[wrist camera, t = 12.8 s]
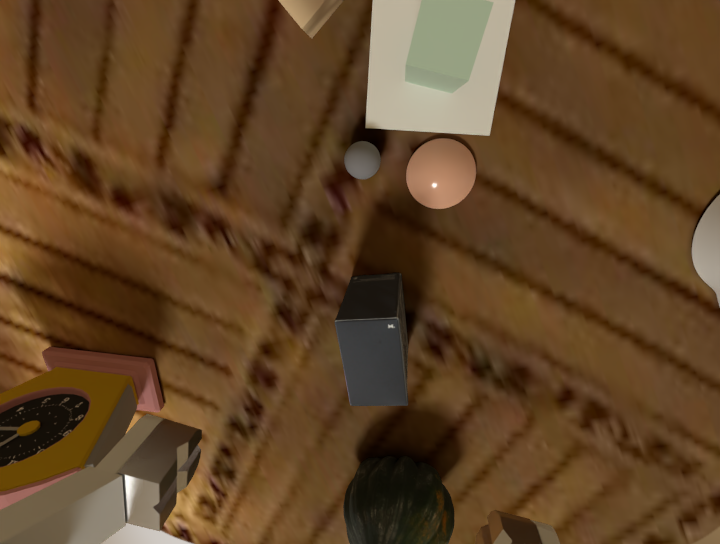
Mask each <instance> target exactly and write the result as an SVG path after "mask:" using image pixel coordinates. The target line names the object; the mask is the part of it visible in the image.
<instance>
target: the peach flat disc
mask: <svg viewBox="0 0 720 544" xmlns="http://www.w3.org/2000/svg"><path fill="white" fill-rule="evenodd" d="M475 177H476V165H475V161H474V158H473V156H472V154H471V152H470V151H469V150H468V149H467V148H466V147H465V146H464V145H463V144H461V143H460V142H458V141H455V140H452V139H447V138H440V139H434V140H431V141H429V142H427V143H425V144H423V145H422V146H421V147H419V148H418V149H417V150H416V151H415V153H414V154H413V155H412V157H411V159H410V161H409V163H408V167H407V172H406V179H407V185H408V188H409V191H410V193H411V194H412V196H413V197H414V198H415V199H416V200H417V201H418V202H419V203H421V204H422V205H424V206H426V207H429V208H434V209H443V208H448V207H451V206H454V205H456V204H457V203H459V202H460V201H462V200H463V199H464V198H465V197H466V196H467V195H468V193H469V192H470V190H471V189H472V187H473V184H474V182H475Z"/></svg>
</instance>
